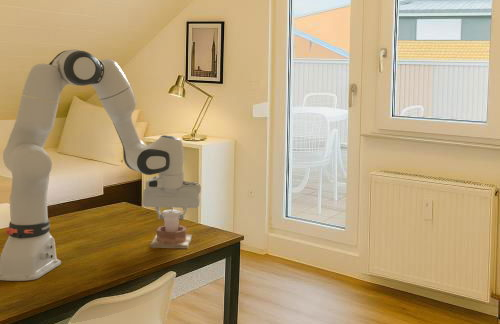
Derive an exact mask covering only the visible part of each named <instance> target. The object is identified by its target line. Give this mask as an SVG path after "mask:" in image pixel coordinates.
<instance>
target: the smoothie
mask: <svg viewBox="0 0 500 324" xmlns="http://www.w3.org/2000/svg"><path fill="white" fill-rule="evenodd" d="M170 208H171V209H164V210H163V211H162V213H163V220H164V226H165V230H166V232H177V231H178V225H179V224H180V214H181V211H180V210H179V209H174V207H170Z"/></svg>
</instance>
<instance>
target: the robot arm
mask: <svg viewBox="0 0 500 324" xmlns="http://www.w3.org/2000/svg"><path fill="white" fill-rule="evenodd" d="M30 68H31V69H30V70H29V72H28V75H27V78H26V80H25V82H24V85H23V89H22V94H21V96H20V97H21V98H20V102H19V106H18V109H17V114H16V119H15V121H14V125H13V128H12V130H11V132H10V135H9V138H8V140H7V144H6V146H5V148H4V150H3V154H2V161H3V163H4V167H6V168H7V170H9V171H10V172H11V178H12V181H11V189H10V196H9V213H10V221H9V223H8V227H7V228H5V235H8V237H7V239H6V242H5V244H4V246H3V249H2V251H1V253H0V281H7V282H9V281H11V282H12V281H13V282H21V281H23V282H24V281H33V280H34V281H35V280H38V279H39V278H41V277H43V276H44V275H46V274H47V273H48V272H51V271H53V270H54V269H56V268H57V267H58V266H60V265H62V261H61V259H58V257H57V250H56V242H55V241H56V240H55V238H54V237H53V236H52V234H51V233H50V230H51V223H50V218H48V216H49V213H48V188H49V181H50V175H51V174H50V173H51V171H52V169H53V167H52V166H53V162H52V159H51V156H50V155H49V153H48V151H46V150H45V149H44V147H45V145H46V143H47V140H48V137H49V135H50V133H51V132H52V131H53V128H54V125H55V122H56V117H57V113H58V107H59V104H60V100H61V99H60V98H61V94H62V92H63V90H64V88H65V87H66V86H68V85H70V86H81V87H82V86H83V87H84V86H91V87H92V88H93V89H94V91H95V92H96V95H97V97H98V99H99V101H100V103H101V106H102V107H103V108H104V110H105V112H106V114H107V115H108V117H109V118H110V120H111V121H112V124H113V126H114V128H115V130H116V133H117V135H118V138H119V140H120V143H121V145H122V150H123V151H122V153H123V161H124V164H125V166H127V168H129V169H130V170H132V171H136V172H139V173H141V174H143V175H147V176H151V175H155V176H153V177H150V178H148V179H147V180H146V181H145V188H144V190H143V192H142V206H143V207H145V208H154V209H155V212H156V213H157V215H158V216H157V217H158V220H164V215H163V212H161V210H160V209H161V208H171V207H173V208H181V209H182V211H183V212H182V213H180V216H179V221H180V220H181V221H182V220H185V215H186V213H187V212H188V209H197V208H199V207H200V204H201V198H200V193H201V191H202V190H201V188H202V187H201V184H200V183H199V182H197V181H187V180H186V181H185V179H184V178H185V172H184V168H183V166H184V162H185V159H184V157H185V155H184V153H185V152H184V145H183V141H182V139H181V138H179V137H177V136H173V135H165V134H164V135H163V134H162V135H160V137H159V138H157V139H156V140H155V141H153V142H152V143H149V144H146V143H144V142H143V141H142V140H141V138H140V137H139V134H138V131H137V129H136V127H135V124H134V123H133V117H132V114H133V113H134V111H135V110H136V107H137V100H136V96H135V94H134V91H133V88H132V86H131V83H130V82H129V79H128V77H127V76H126V74H125V73H124V71H123V70H122V68H121V66H120V65H119V64H118V63H117V62H116V60H113V59H111V58H103V59H98V58H97V57H96V56H94V54H91V53H89V52H88V51H84V50H79V49H68V50H64V51H61V52H60V53H58V54H57V55H55V57H54V58H53V59H52V60H51V61H50V62H49V63H38V64H35V65H33V66H32V67H30ZM156 174H158V175H157V176H156Z"/></svg>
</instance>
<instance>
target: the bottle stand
mask: <svg viewBox="0 0 500 324" xmlns="http://www.w3.org/2000/svg"><path fill="white" fill-rule="evenodd" d="M192 238H193V234H187V226H183V225H179V224H178V231H177V232H166V230H165V225H161V226H158V227H157V229H156V235H155V236H154V238H153V240H152V241H151V243H150V244H149V245H150V248H152V249H153V248H155V249H156V248H157V249H159V248H160V249H161V248H162V249H164V248H165V249H188V248H189V245H190V243H191V241H192Z"/></svg>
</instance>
